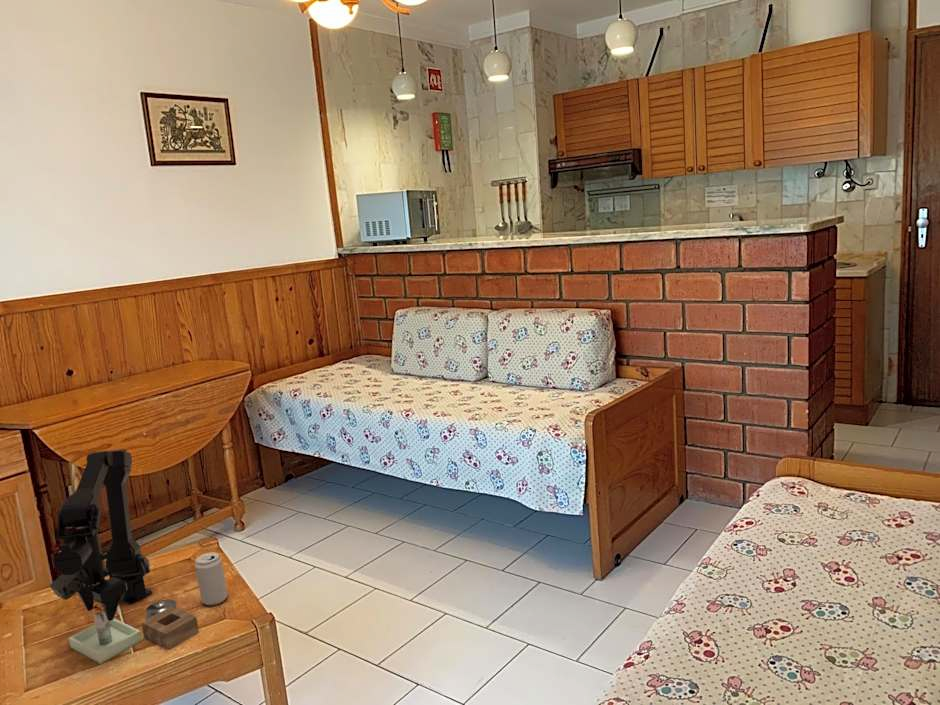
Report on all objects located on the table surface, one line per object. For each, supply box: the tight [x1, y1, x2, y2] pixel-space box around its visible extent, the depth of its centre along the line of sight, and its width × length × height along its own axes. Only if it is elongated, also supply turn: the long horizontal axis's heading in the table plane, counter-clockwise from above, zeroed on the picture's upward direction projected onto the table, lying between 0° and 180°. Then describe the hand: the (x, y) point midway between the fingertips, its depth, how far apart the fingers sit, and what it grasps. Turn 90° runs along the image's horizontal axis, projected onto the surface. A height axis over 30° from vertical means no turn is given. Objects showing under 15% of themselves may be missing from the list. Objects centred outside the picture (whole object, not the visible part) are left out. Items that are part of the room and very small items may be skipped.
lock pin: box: [91, 603, 112, 646], centre depth 174 cm, size 3×3×9 cm
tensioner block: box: [141, 606, 200, 650], centre depth 176 cm, size 10×8×4 cm
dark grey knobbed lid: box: [145, 598, 178, 620], centre depth 185 cm, size 7×7×3 cm
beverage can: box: [194, 551, 228, 606], centre depth 189 cm, size 6×6×12 cm
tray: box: [68, 617, 143, 665], centre depth 175 cm, size 13×10×2 cm
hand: (100, 615), depth 173 cm, fingers open, 9 cm apart
